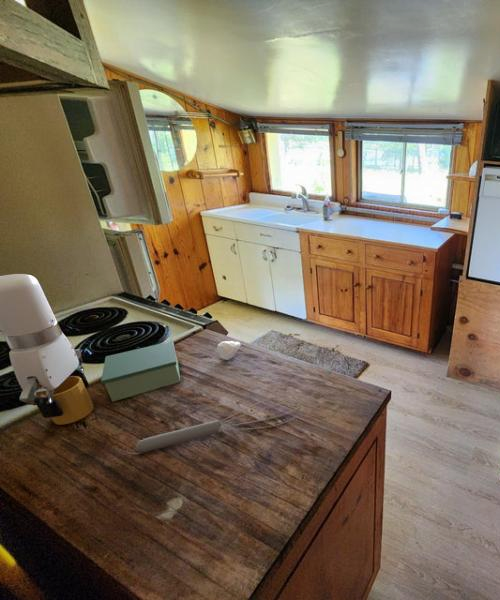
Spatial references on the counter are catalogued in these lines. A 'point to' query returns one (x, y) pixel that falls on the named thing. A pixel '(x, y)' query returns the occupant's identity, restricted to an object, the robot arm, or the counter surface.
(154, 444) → the kitchen whisk
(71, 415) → the cup
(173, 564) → the counter surface
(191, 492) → the counter surface
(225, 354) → the garlic bulb
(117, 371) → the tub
